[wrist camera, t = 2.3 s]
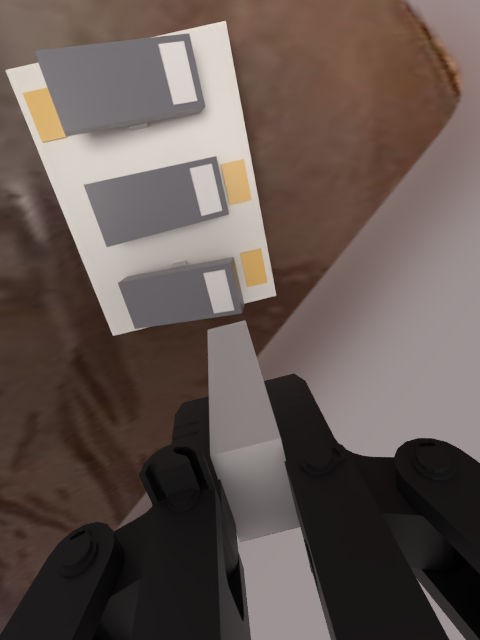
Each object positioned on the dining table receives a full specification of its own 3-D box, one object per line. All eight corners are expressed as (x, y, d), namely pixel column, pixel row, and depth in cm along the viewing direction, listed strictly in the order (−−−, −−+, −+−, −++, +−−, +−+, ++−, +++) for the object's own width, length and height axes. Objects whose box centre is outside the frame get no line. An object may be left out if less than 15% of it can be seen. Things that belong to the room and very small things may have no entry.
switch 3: (142, 320, 29) (134, 329, 28) (126, 276, 28) (116, 283, 26) (244, 305, 27) (241, 314, 26) (233, 257, 26) (229, 263, 24)
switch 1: (66, 136, 22) (63, 131, 20) (38, 61, 20) (33, 49, 18) (199, 113, 24) (206, 106, 22) (183, 44, 22) (189, 32, 21)
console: (122, 319, 34) (108, 343, 29) (32, 86, 26) (-9, 62, 21) (267, 283, 34) (280, 301, 29) (221, 43, 27) (227, 9, 21)
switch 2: (106, 244, 24) (106, 247, 23) (84, 186, 23) (83, 184, 21) (222, 214, 27) (229, 214, 25) (209, 159, 25) (216, 155, 24)
